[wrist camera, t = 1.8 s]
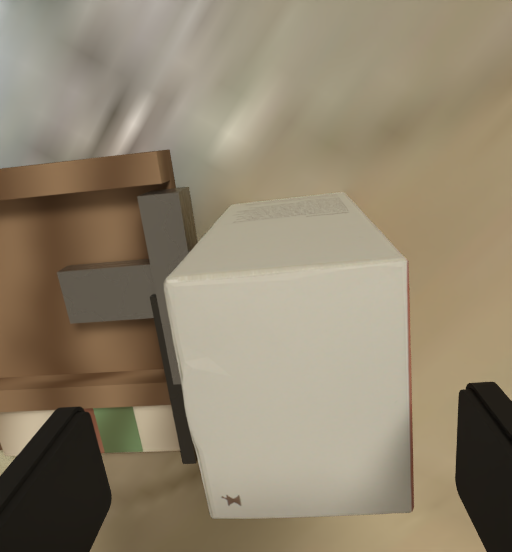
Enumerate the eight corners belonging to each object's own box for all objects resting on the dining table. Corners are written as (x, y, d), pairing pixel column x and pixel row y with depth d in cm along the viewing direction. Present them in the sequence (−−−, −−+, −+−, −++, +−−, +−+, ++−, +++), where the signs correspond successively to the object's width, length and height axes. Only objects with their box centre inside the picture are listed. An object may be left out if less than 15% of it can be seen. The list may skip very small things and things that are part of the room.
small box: (356, 328, 25) (417, 520, 12) (248, 336, 26) (205, 526, 13) (347, 187, 22) (413, 255, 10) (228, 201, 23) (153, 281, 11)
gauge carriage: (188, 186, 22) (178, 192, 20) (228, 439, 27) (222, 463, 25) (51, 201, 23) (28, 207, 21) (113, 443, 28) (99, 467, 26)
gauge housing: (169, 149, 22) (96, 159, 14) (216, 434, 28) (183, 562, 20) (-104, 180, 24) (-312, 205, 16) (-9, 442, 30) (-126, 562, 21)
